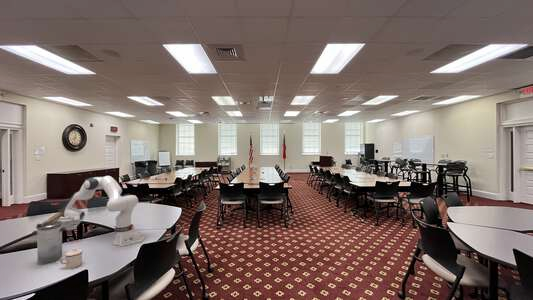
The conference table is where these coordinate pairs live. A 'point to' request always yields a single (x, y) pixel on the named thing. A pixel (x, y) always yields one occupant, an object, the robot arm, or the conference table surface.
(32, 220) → the conference table surface
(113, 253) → the conference table surface
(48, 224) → the lock bar
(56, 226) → the grey tall piece
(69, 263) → the teacup with lid
